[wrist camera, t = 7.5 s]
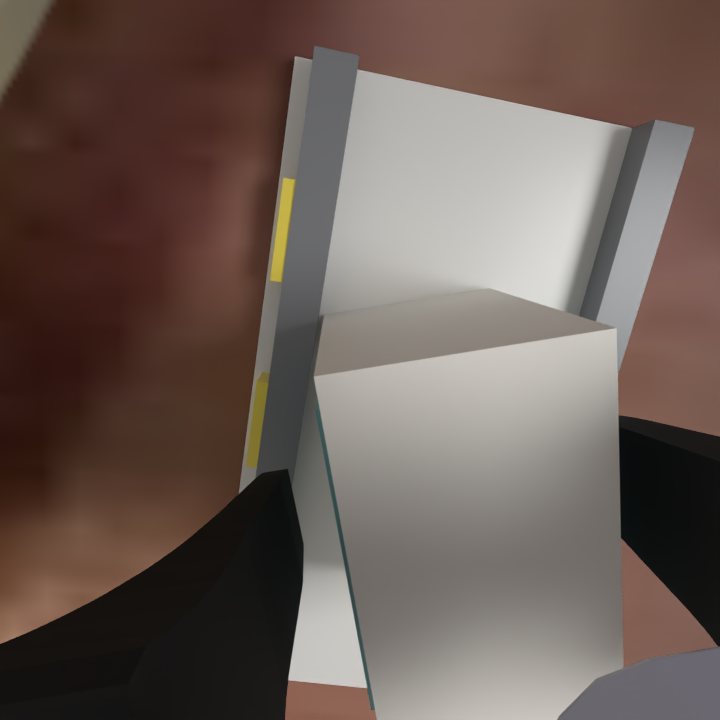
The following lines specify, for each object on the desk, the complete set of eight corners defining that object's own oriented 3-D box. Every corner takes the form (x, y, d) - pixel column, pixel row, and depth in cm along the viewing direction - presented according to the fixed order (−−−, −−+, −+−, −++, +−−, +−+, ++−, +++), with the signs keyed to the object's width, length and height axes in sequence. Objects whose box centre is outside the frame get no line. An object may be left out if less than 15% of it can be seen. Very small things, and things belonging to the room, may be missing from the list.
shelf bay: (296, 61, 12) (291, 40, 10) (679, 142, 12) (714, 131, 11) (217, 664, 16) (208, 699, 15) (509, 694, 17) (522, 728, 15)
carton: (495, 287, 13) (627, 326, 7) (516, 544, 15) (633, 741, 9) (318, 315, 13) (303, 377, 7) (363, 570, 15) (380, 783, 9)
